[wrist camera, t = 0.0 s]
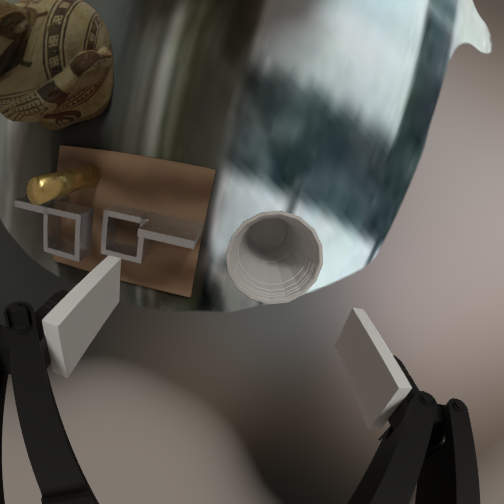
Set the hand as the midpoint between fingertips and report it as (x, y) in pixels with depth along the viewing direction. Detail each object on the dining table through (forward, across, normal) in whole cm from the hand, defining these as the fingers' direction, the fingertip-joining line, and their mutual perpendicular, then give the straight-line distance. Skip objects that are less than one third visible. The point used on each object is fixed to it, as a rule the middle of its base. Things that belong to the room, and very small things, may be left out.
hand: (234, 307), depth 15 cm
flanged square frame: (+26, -27, -7) cm, 38 cm away
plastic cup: (+28, +5, -3) cm, 29 cm away
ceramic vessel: (+28, -30, +16) cm, 44 cm away
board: (+28, -18, -6) cm, 34 cm away
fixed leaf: (+27, -12, -7) cm, 30 cm away
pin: (+27, -23, 0) cm, 36 cm away
